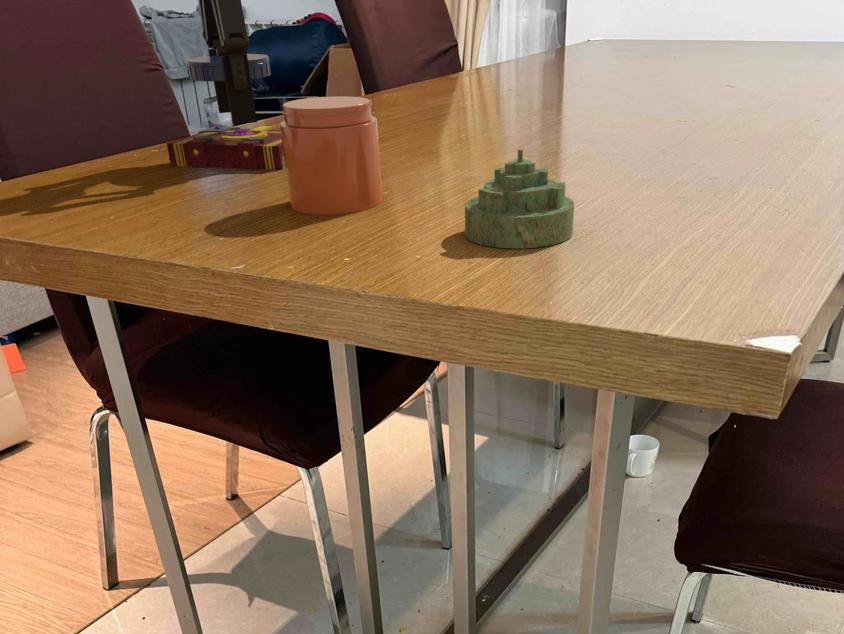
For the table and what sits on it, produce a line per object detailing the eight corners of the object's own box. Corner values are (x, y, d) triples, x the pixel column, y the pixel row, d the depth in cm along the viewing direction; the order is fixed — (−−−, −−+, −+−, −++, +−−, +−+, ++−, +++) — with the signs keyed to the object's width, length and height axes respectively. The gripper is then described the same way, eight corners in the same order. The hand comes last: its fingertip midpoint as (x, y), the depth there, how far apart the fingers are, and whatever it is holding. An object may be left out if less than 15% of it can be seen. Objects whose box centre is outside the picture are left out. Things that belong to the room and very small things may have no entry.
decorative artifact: (564, 218, 82) (463, 222, 82) (569, 137, 78) (461, 141, 78) (579, 246, 74) (467, 250, 74) (585, 158, 70) (466, 162, 70)
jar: (296, 239, 79) (278, 112, 73) (291, 217, 86) (275, 99, 80) (390, 231, 80) (381, 105, 74) (378, 210, 87) (369, 93, 81)
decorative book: (284, 188, 97) (277, 140, 94) (164, 183, 101) (154, 136, 98) (325, 169, 105) (320, 123, 102) (213, 165, 110) (205, 121, 106)
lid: (270, 70, 101) (268, 52, 100) (272, 78, 94) (269, 59, 93) (191, 74, 100) (188, 56, 99) (187, 83, 92) (183, 63, 91)
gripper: (252, -146, 78) (288, 127, 92) (216, -127, 95) (251, 103, 108) (170, -146, 76) (220, 133, 90) (148, -126, 93) (193, 108, 106)
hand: (237, 117), depth 99 cm, fingers closed on lid, 9 cm apart
